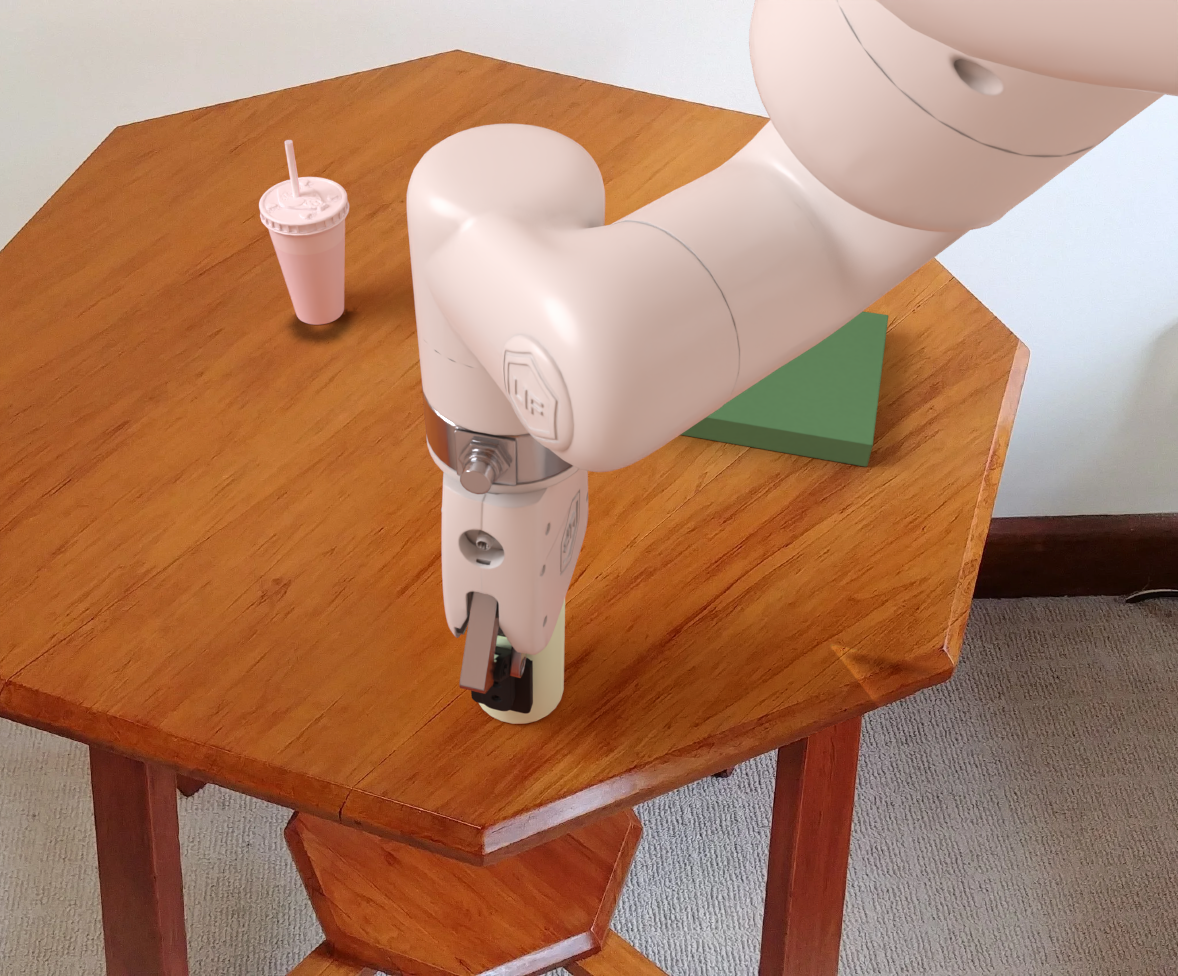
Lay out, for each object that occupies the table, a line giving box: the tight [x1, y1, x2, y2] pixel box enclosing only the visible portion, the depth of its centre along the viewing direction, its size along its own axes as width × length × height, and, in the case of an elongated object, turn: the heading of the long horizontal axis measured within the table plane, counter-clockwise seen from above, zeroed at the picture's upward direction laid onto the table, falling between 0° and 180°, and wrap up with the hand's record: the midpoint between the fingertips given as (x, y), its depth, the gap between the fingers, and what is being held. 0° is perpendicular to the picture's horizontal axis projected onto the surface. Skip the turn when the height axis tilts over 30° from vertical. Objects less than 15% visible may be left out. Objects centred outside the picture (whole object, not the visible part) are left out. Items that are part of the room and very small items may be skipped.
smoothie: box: [258, 139, 350, 326], centre depth 90 cm, size 6×6×14 cm
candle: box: [478, 598, 566, 725], centre depth 66 cm, size 5×5×8 cm
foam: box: [679, 311, 889, 468], centre depth 86 cm, size 20×14×2 cm
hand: (516, 662), depth 67 cm, fingers closed on candle, 4 cm apart
